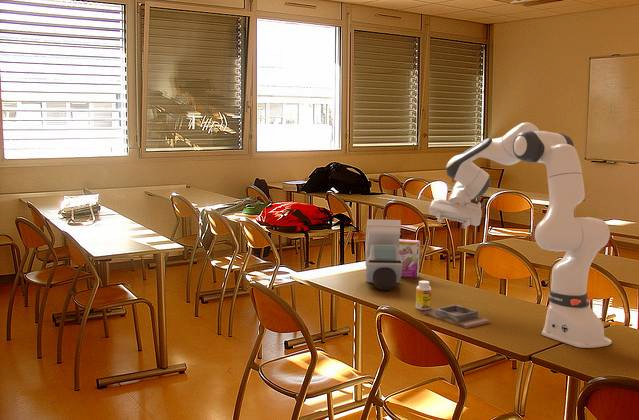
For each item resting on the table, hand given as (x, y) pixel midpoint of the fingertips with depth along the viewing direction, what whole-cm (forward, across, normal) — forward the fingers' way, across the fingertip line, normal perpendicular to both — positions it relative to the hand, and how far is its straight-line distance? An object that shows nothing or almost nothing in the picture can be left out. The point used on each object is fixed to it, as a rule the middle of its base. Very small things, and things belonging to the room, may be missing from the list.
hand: (451, 223), depth 260 cm
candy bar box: (-18, -17, +48) cm, 54 cm away
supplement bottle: (+26, -2, +23) cm, 34 cm away
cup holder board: (+32, +11, +16) cm, 38 cm away
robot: (0, -24, +41) cm, 47 cm away
